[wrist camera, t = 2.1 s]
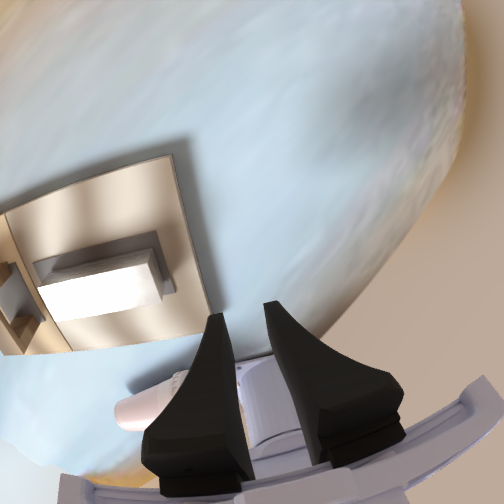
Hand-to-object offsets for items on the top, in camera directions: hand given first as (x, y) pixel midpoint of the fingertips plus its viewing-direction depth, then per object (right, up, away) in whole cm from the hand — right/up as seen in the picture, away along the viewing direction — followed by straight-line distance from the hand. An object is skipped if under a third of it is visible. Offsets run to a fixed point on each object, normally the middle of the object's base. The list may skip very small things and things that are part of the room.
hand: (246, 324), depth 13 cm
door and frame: (-15, +1, +7) cm, 16 cm away
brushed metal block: (-11, +1, +6) cm, 12 cm away
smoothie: (-14, -15, +12) cm, 24 cm away
